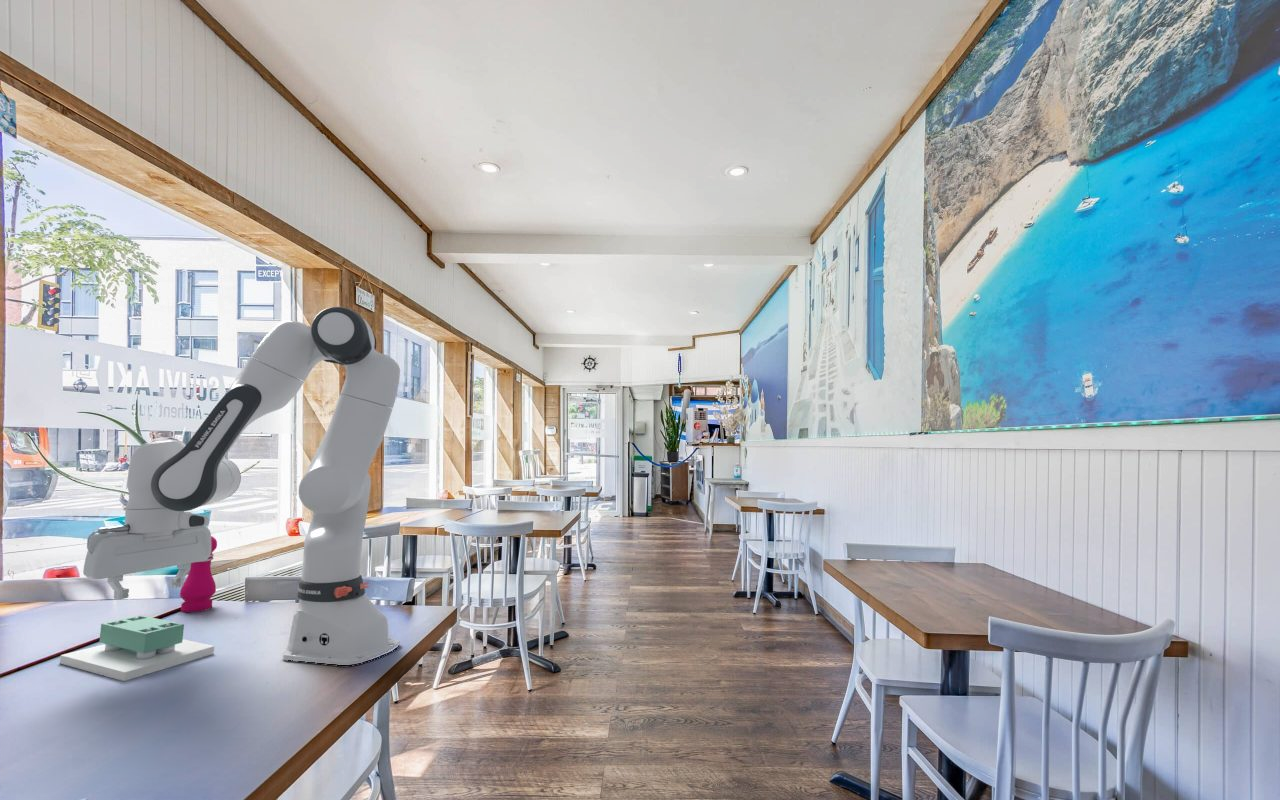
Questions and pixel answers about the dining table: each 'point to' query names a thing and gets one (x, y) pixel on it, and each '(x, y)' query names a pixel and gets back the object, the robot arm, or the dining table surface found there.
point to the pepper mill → (199, 585)
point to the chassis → (134, 658)
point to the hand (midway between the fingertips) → (149, 592)
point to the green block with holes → (141, 634)
